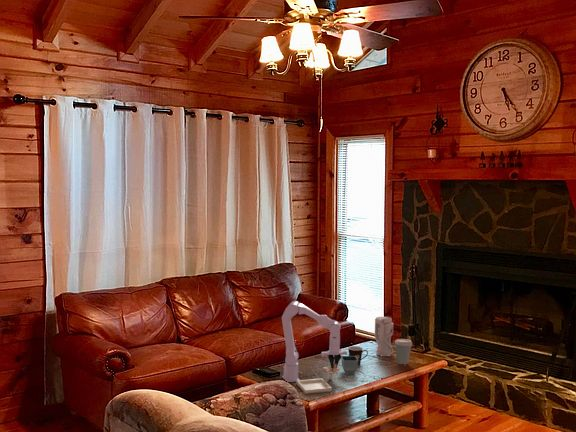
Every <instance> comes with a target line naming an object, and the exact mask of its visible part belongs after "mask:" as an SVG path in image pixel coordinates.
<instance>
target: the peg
mask: <svg viewBox="0 0 576 432" xmlns="http://www.w3.org/2000/svg"><path fill="white" fill-rule="evenodd" d="M327 377H328V379H327V380H328V381H333V372H328V376H327Z"/></svg>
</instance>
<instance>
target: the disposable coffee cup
mask: <svg viewBox="0 0 576 432" xmlns="http://www.w3.org/2000/svg"><path fill="white" fill-rule="evenodd" d="M394 344H395V346H394V347H395V357H396V363H399V364H407V363H408V364H409V360H410V359H409V358H410V355H411V349H412V346H413V342H412V340H410V339H406V338H398V339H395V340H394ZM399 364H398V365H399ZM408 364H407V365H408Z"/></svg>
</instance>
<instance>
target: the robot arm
mask: <svg viewBox="0 0 576 432" xmlns="http://www.w3.org/2000/svg"><path fill="white" fill-rule="evenodd" d="M297 314H298V315H305V316H308V317H310V318H311V319H314V320H315V321H317V324H319V326H321V327H323V328H324V329H326V330H329V348H328V349H329V350H326V351H321V357H327V358H328V360H329V364H330V367H331V368H332V369H333V368H334V363H335V364H336V365H337V367H338V365H339V362H340V360H341V356H348V351H347V349H346V350H345V349H344V350H343V349H342V350H341V349H340V347H341V332H340V331H341V327H342V326H341V324H340V322H338V320H335V319H331V318H330V317H329V316H328V315H326V314H318V313H317V312H315V311H314V310H312V308H309V307H308V306H306V305H305V304H303V303H301V302H299V301H298V300H292V301H291V302H290V303H289V304H288V305H287V307H286V308H285V310H284V311H283V314H282V315H281V322H282V329H283V336H284V342H285V357H284V362H285V363H284V365H283V375H282V376H281V377H282V378H283V379H284V381H285V382H286V381H287V382H286V383H293V382H294V383H295V382H297V380H301V379H300V378H299V362H298V360H299V357H300V354H299V352H298V350H297V347H296V345H295V340H294V330H293V326H292V318H293V317H294V316H296V315H297Z"/></svg>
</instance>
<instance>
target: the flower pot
mask: <svg viewBox="0 0 576 432" xmlns="http://www.w3.org/2000/svg"><path fill="white" fill-rule="evenodd" d="M340 360H341V366H342V370H343V372H344V374H345V375H355V374H356V372H357V370H358V367H359V366H358V359H357V357H356V356H349V355H341V359H340Z"/></svg>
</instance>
